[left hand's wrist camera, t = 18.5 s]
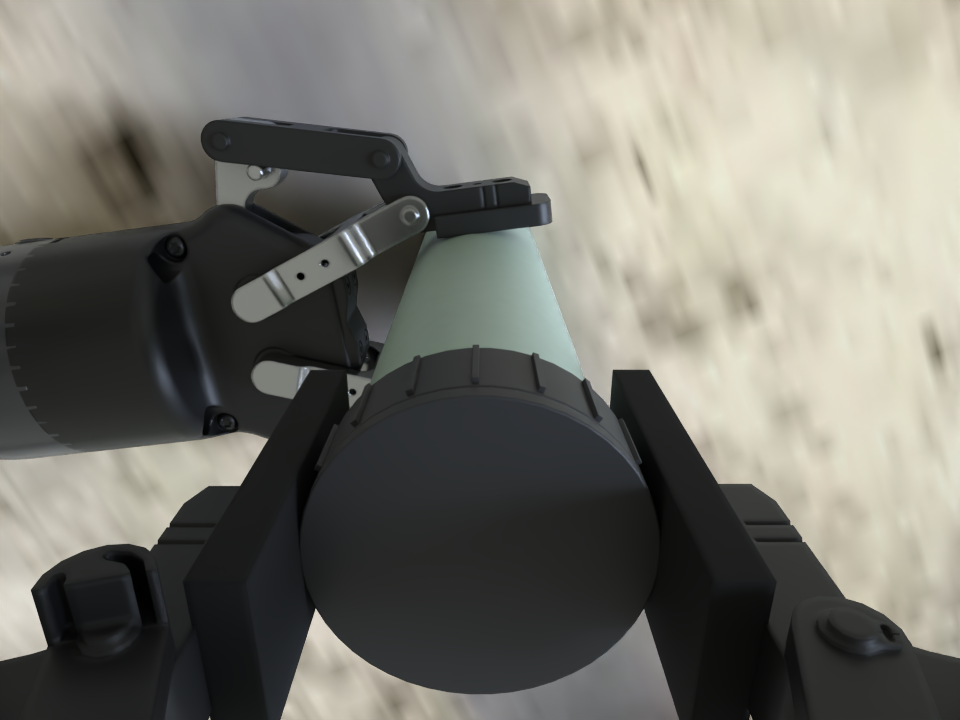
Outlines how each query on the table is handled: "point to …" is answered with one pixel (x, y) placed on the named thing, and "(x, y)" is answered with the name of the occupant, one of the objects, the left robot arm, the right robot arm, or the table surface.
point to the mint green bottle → (478, 302)
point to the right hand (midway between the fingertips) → (553, 289)
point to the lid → (479, 524)
